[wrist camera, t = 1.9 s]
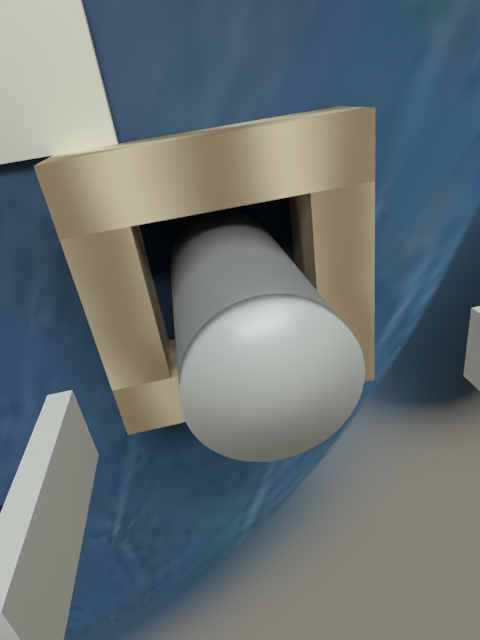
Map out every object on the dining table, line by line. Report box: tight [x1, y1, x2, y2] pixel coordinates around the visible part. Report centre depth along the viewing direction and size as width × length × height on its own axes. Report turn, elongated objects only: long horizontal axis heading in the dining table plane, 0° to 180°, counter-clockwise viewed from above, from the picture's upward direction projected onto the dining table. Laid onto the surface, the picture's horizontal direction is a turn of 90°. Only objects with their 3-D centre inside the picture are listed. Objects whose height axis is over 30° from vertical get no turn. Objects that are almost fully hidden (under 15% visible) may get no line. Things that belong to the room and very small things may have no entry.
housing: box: [34, 106, 375, 435], centre depth 23 cm, size 14×14×4 cm
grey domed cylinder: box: [170, 210, 365, 462], centre depth 19 cm, size 6×6×12 cm
